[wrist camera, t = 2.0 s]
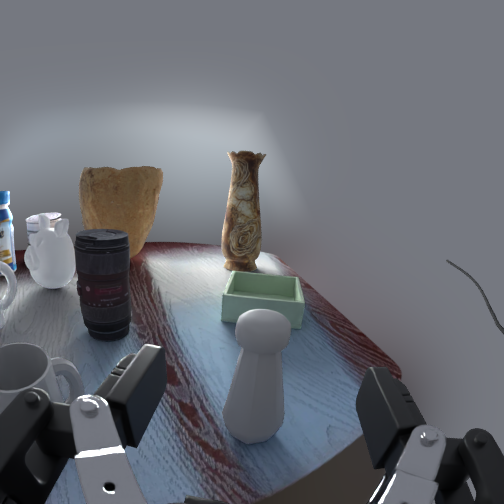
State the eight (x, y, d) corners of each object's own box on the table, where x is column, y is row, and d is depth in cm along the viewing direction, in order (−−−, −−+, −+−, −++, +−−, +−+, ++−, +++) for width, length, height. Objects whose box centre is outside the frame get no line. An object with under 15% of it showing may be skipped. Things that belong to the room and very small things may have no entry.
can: (69, 256, 72) (67, 214, 69) (36, 264, 62) (33, 219, 60) (53, 249, 77) (52, 211, 74) (23, 256, 67) (21, 215, 64)
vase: (243, 275, 72) (253, 150, 65) (211, 265, 78) (218, 150, 71) (266, 267, 80) (276, 155, 73) (235, 259, 86) (243, 154, 79)
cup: (5, 428, 16) (-29, 356, 14) (74, 395, 25) (55, 326, 23) (34, 476, 13) (-11, 404, 11) (112, 431, 22) (93, 359, 20)
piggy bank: (19, 291, 46) (11, 218, 42) (52, 275, 57) (48, 211, 54) (56, 303, 45) (49, 222, 41) (90, 283, 56) (87, 213, 53)
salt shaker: (288, 420, 27) (310, 310, 24) (269, 458, 21) (292, 342, 18) (236, 404, 29) (245, 295, 26) (210, 437, 24) (212, 321, 20)
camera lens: (116, 350, 35) (106, 241, 32) (74, 335, 37) (62, 235, 33) (143, 325, 43) (140, 230, 40) (103, 314, 44) (97, 226, 41)
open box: (231, 292, 61) (232, 270, 59) (295, 299, 60) (298, 277, 59) (221, 321, 48) (222, 294, 47) (300, 329, 47) (305, 302, 46)
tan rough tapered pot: (168, 253, 86) (172, 168, 80) (146, 277, 64) (149, 165, 58) (102, 248, 84) (103, 167, 78) (66, 268, 63) (64, 166, 57)
